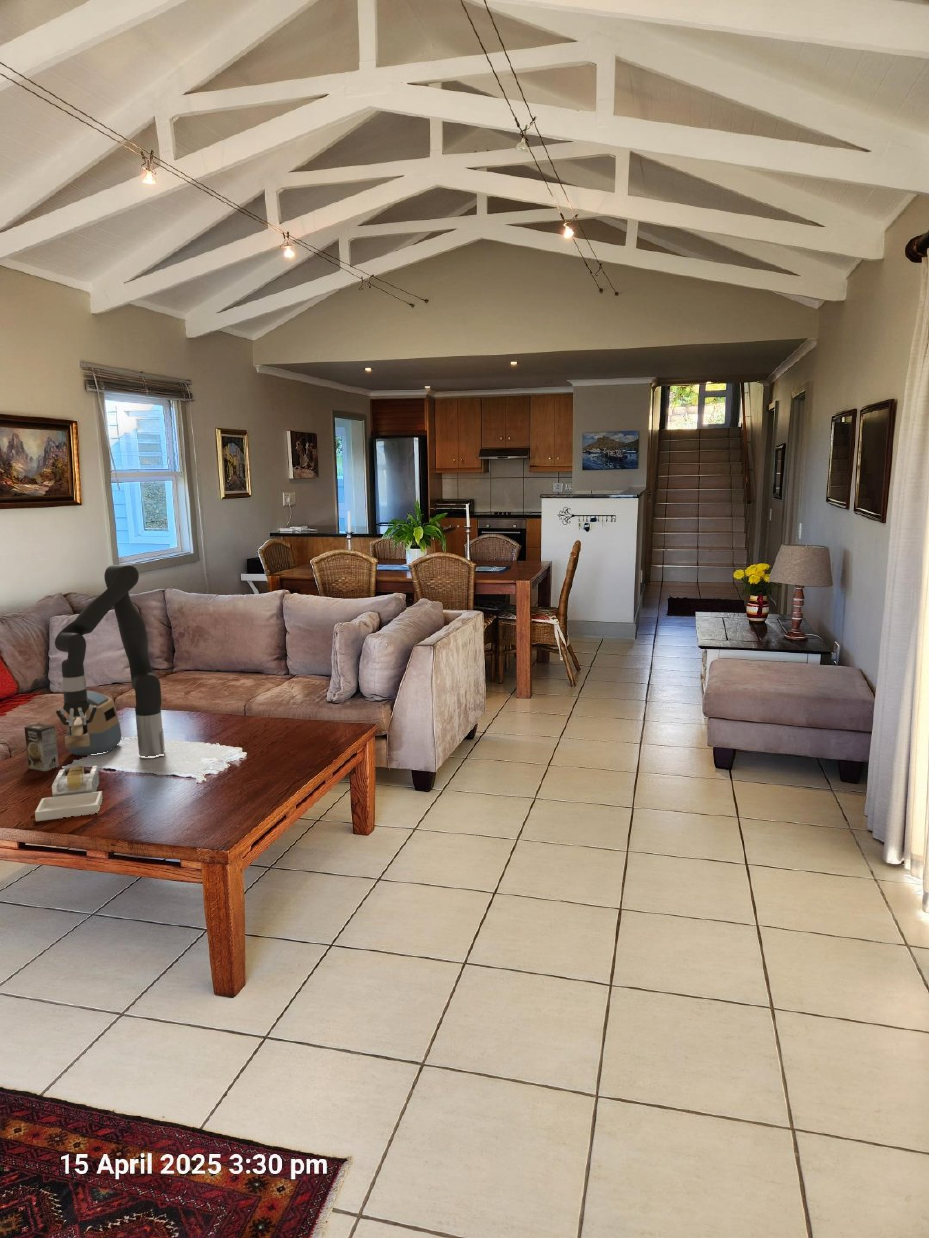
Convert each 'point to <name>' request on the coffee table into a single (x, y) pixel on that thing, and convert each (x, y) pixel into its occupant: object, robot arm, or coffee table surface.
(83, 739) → the beige wedge bookend
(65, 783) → the channel
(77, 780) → the block
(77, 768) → the block
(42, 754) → the coffee box
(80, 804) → the tray
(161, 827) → the coffee table surface
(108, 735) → the two-tone rounded housing
